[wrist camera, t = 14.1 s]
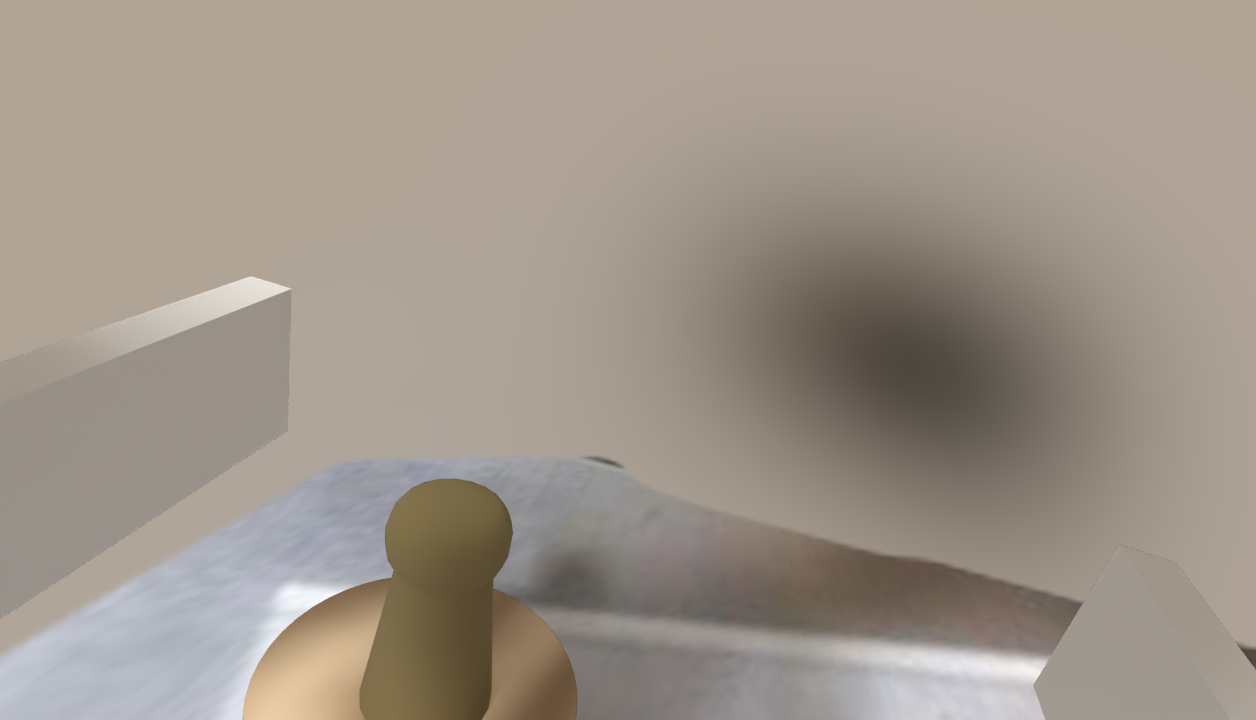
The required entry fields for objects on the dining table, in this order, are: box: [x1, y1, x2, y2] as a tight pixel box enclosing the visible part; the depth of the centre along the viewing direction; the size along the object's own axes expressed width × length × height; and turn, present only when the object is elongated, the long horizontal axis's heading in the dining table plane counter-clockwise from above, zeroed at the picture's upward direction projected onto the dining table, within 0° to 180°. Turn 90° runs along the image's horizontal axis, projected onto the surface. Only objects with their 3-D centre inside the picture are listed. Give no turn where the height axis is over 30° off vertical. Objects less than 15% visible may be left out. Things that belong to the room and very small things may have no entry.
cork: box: [359, 479, 513, 720], centre depth 32 cm, size 6×6×11 cm
